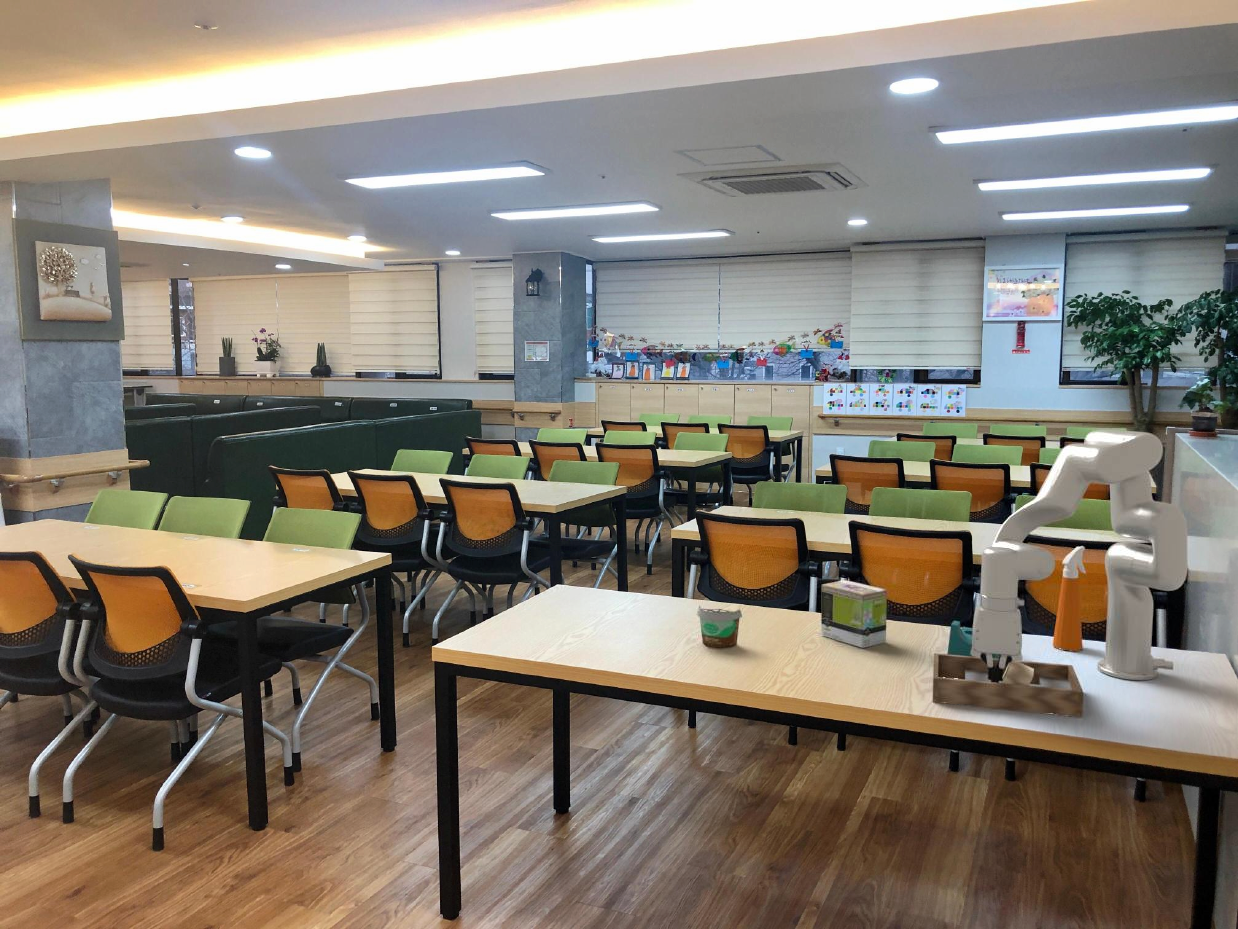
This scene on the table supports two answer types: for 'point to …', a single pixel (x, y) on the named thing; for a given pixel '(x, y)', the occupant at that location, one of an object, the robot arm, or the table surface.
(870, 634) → the tea box
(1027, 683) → the block
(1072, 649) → the spray bottle
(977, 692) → the box
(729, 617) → the food container
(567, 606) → the table surface
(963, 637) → the teal l-shaped bracket
